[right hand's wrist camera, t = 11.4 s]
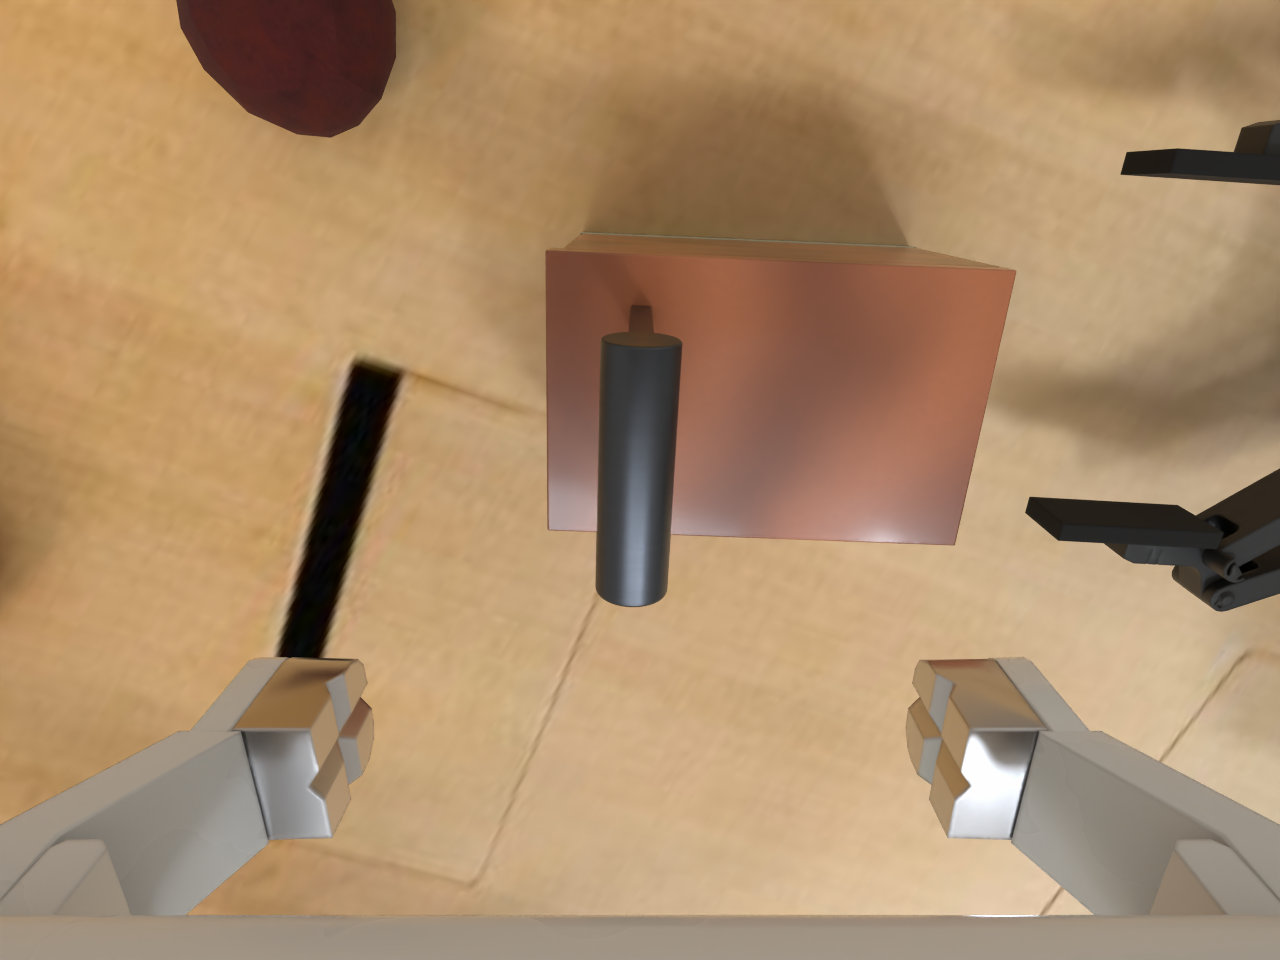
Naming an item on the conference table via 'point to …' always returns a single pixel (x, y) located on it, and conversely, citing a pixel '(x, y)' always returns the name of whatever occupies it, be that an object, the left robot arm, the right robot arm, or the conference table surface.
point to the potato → (296, 57)
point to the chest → (764, 249)
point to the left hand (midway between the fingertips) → (1089, 356)
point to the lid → (761, 401)
